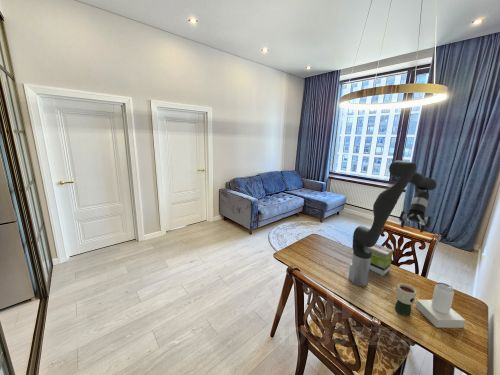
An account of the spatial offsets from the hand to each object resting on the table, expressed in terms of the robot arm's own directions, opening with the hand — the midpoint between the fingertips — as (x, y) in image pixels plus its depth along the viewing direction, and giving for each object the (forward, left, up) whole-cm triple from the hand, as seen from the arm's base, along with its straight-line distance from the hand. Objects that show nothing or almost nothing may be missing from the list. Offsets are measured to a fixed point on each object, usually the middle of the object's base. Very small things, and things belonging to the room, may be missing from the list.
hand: (411, 229), depth 122 cm
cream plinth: (-4, -30, -31) cm, 43 cm away
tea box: (-12, +9, -31) cm, 34 cm away
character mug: (-19, -27, -31) cm, 45 cm away
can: (-4, -30, -27) cm, 40 cm away
